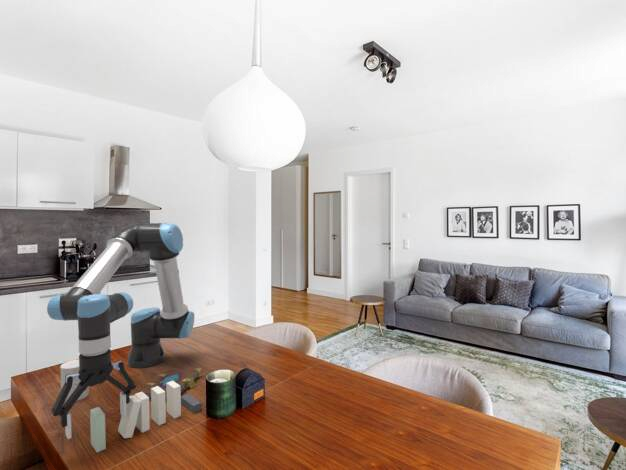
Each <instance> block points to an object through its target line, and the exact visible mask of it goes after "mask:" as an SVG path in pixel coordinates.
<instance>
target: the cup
mask: <svg viewBox="0 0 626 470" xmlns="http://www.w3.org/2000/svg"><path fill="white" fill-rule="evenodd" d="M59 368H60V389H61V390H62V388H63V386H64V384H65V376H66V375H67V374H70V375H74V374H78V373H79V358H78V359H71V360H69V361H66V362H64V363H62V364H61V365H60V367H59ZM80 381H81V380H80V379H76V381H75V383H73V384H72V387H71V390H70V392H69V394H68V396H67V398H66V400H65V402H66V401H67V400H68V398H69V397H70V396H71V394H72V393H73V392H74V390H75V389H76V388H77V385H78V384H79V382H80ZM89 387H90V386H88V387H87V389H86V390H85V391H84V392H83V393H82V394H81V396H80V397H79V398H78V400H77V401H81V400H83V399H85V398H86V397H88V395H90V388H89ZM61 390H60V391H61ZM77 401H76V402H77ZM65 402H64V403H65Z"/></svg>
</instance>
